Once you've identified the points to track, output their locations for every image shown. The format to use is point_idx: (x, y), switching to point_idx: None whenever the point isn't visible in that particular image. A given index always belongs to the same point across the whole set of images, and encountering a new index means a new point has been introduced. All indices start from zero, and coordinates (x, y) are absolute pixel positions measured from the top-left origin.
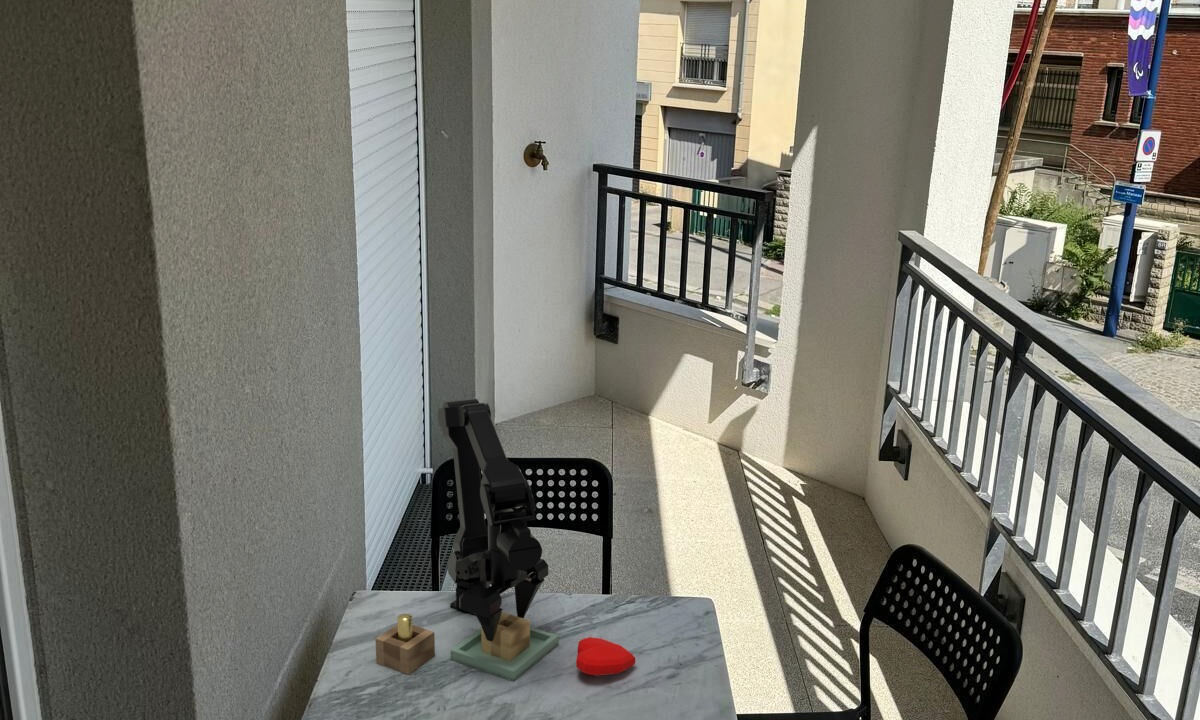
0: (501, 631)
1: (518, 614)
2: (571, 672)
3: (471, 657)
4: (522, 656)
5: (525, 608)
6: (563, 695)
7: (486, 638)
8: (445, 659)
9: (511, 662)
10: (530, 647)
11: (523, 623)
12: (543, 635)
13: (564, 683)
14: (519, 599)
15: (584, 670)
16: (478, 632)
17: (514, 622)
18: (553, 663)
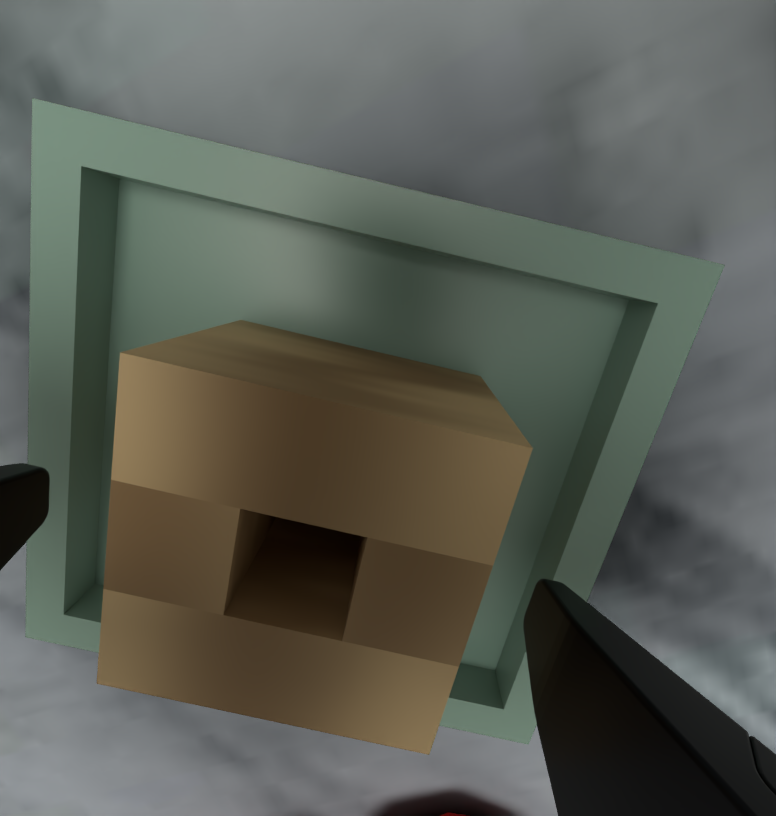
0: (117, 594)
1: (545, 610)
2: (277, 796)
3: (30, 324)
4: None
5: (550, 765)
6: (86, 809)
7: (7, 468)
8: (79, 83)
9: None
10: None
11: (351, 723)
12: (517, 658)
13: (176, 792)
14: (640, 791)
15: None
16: (398, 212)
17: (339, 647)
18: None
